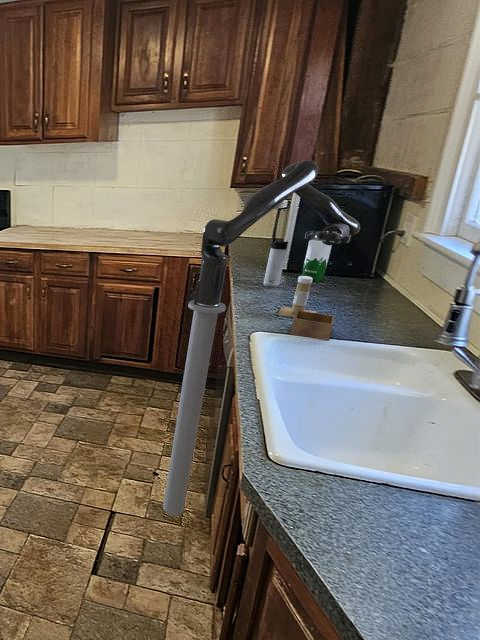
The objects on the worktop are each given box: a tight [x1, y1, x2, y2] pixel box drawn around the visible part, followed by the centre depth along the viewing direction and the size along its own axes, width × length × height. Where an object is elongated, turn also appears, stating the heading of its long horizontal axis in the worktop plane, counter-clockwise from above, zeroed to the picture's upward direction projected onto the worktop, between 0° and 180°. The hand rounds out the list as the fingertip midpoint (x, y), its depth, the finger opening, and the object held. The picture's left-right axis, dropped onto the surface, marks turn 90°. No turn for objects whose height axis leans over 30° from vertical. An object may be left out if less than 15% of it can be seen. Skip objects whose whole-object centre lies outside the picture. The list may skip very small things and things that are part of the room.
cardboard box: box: [289, 310, 336, 342], centre depth 175 cm, size 11×11×6 cm
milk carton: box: [301, 238, 333, 283], centre depth 242 cm, size 9×9×20 cm
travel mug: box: [262, 241, 289, 289], centre depth 230 cm, size 6×7×20 cm
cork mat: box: [276, 306, 318, 319], centre depth 195 cm, size 12×12×1 cm
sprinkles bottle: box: [291, 275, 313, 313], centre depth 193 cm, size 5×5×14 cm
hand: (322, 238), depth 193 cm, fingers open, 8 cm apart
